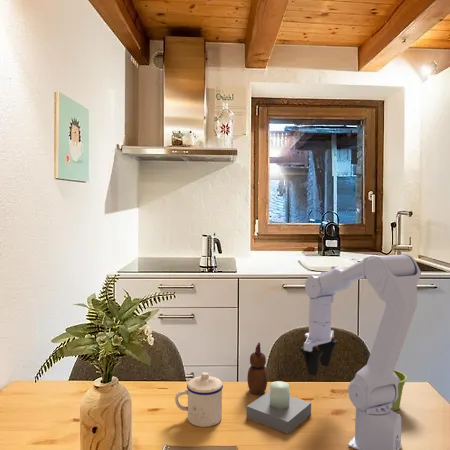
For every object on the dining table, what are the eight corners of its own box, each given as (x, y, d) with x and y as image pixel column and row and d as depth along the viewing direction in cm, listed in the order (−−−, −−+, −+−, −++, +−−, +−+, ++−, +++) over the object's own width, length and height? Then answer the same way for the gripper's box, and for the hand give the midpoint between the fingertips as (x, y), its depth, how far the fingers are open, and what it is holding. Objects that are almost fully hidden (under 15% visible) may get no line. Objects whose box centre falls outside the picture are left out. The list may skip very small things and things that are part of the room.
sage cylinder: (292, 403, 107) (293, 384, 106) (283, 411, 102) (284, 391, 102) (275, 398, 109) (275, 379, 109) (266, 405, 105) (266, 386, 105)
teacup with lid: (221, 408, 109) (221, 365, 109) (224, 427, 100) (224, 380, 100) (175, 410, 108) (175, 367, 108) (174, 429, 99) (174, 382, 99)
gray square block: (310, 414, 107) (311, 402, 107) (287, 434, 98) (288, 421, 98) (271, 400, 115) (271, 389, 114) (246, 417, 105) (246, 406, 105)
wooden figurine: (266, 397, 116) (266, 345, 115) (245, 395, 117) (246, 343, 116) (268, 387, 123) (269, 337, 122) (249, 385, 124) (249, 336, 123)
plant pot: (369, 411, 109) (370, 379, 108) (368, 395, 118) (368, 366, 117) (407, 417, 106) (408, 384, 105) (403, 400, 115) (404, 370, 114)
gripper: (317, 312, 118) (316, 358, 119) (293, 323, 107) (292, 374, 108) (341, 316, 114) (340, 364, 115) (318, 328, 103) (317, 382, 103)
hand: (318, 370), depth 111 cm, fingers open, 7 cm apart
